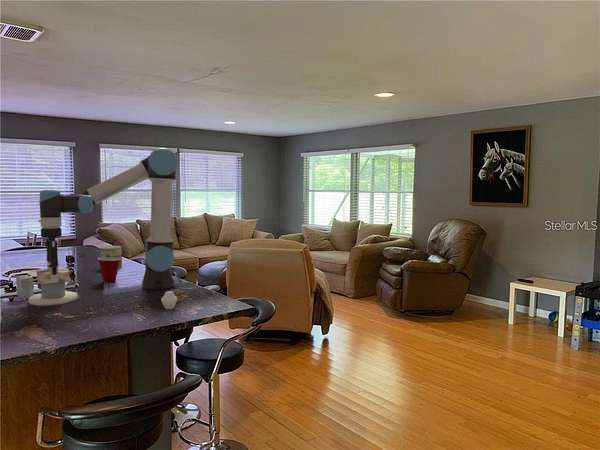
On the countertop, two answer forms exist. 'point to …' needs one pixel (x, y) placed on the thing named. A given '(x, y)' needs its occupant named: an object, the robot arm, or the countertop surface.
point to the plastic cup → (109, 268)
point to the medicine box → (24, 286)
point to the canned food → (112, 253)
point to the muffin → (169, 300)
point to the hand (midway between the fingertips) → (52, 279)
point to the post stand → (53, 295)
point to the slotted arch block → (44, 275)
